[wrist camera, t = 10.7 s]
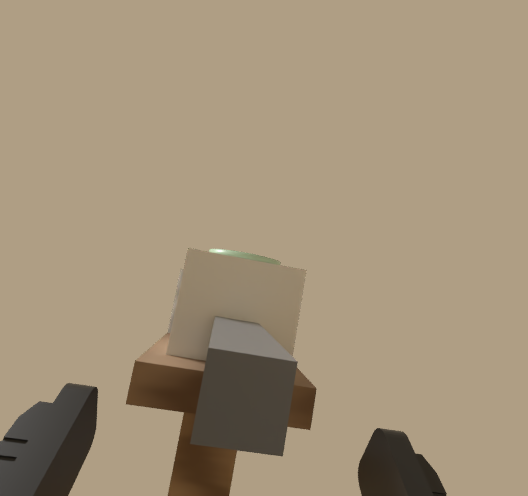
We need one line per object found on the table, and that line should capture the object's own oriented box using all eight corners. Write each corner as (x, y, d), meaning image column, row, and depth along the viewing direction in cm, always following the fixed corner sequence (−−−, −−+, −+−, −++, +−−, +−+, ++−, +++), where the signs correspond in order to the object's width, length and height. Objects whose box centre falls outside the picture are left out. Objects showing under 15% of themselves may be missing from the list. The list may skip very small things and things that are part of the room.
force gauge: (102, 432, 9) (156, 190, 10) (182, 335, 27) (198, 252, 28) (362, 466, 10) (392, 237, 11) (270, 349, 28) (284, 268, 29)
